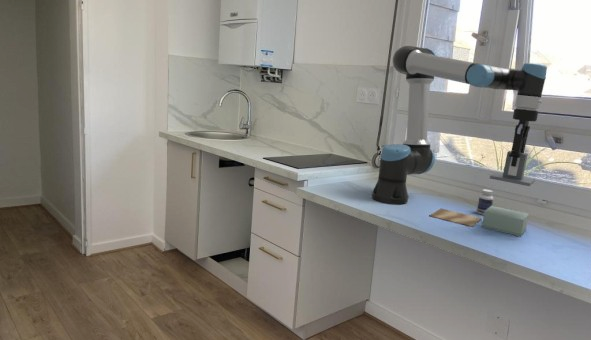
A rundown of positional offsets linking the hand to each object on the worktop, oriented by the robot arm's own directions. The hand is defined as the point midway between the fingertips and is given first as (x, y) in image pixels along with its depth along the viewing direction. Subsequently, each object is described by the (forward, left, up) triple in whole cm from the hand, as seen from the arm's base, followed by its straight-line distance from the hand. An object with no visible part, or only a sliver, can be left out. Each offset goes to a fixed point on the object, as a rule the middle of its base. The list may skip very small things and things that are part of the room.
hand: (513, 174), depth 157 cm
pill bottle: (-10, +14, -21) cm, 27 cm away
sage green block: (0, 0, -20) cm, 20 cm away
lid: (0, 0, -2) cm, 2 cm away
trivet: (-17, -2, -20) cm, 26 cm away
